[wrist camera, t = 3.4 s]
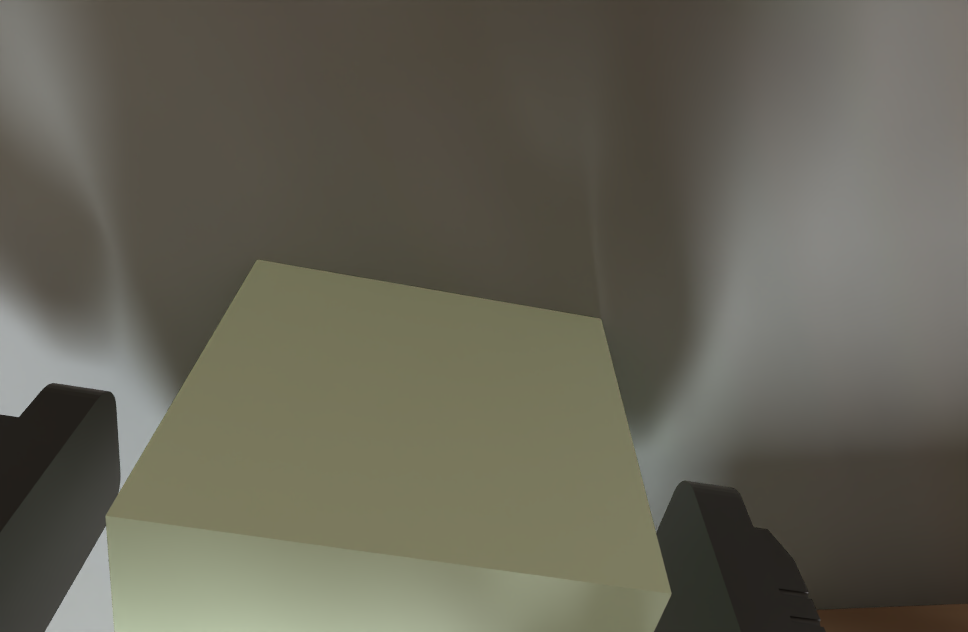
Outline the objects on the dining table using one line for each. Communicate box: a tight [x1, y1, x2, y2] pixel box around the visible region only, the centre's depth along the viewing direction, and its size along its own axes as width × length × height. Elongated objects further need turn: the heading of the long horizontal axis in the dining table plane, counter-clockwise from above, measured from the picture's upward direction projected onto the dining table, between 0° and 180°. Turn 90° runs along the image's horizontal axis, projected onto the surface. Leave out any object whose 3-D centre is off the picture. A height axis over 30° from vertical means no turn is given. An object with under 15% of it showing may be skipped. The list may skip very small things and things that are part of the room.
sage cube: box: [105, 260, 672, 632], centre depth 10 cm, size 5×5×5 cm
